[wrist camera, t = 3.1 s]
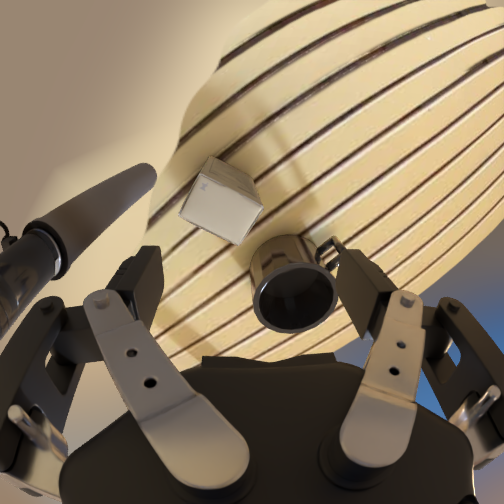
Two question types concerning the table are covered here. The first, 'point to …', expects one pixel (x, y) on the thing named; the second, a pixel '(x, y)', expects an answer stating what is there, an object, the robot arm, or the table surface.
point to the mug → (293, 283)
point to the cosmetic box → (222, 202)
